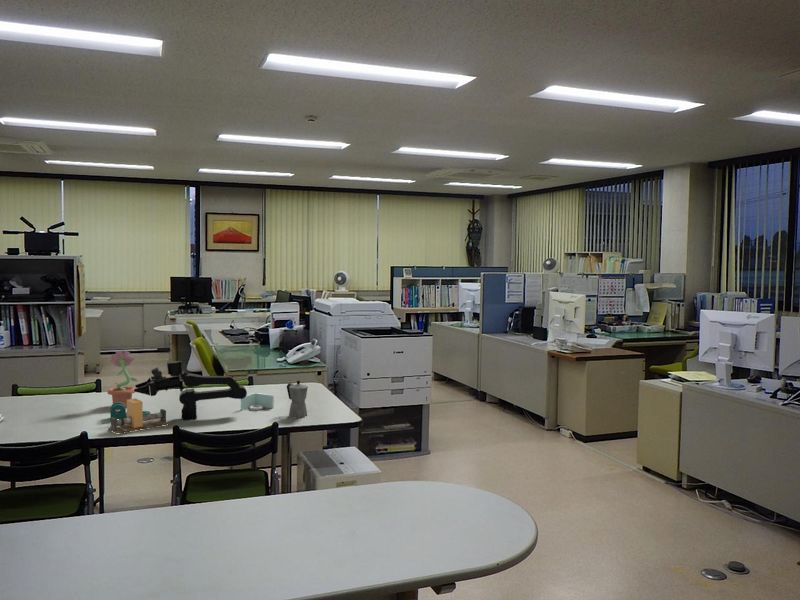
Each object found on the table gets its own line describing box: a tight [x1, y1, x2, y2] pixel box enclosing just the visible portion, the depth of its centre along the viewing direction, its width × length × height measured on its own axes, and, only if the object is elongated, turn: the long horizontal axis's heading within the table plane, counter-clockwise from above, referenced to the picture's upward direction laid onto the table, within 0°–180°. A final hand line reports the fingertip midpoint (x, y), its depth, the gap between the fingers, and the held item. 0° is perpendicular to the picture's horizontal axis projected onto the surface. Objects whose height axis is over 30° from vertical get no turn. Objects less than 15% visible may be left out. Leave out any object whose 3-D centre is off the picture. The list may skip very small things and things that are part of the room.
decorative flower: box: [107, 350, 139, 408], centre depth 328 cm, size 15×14×30 cm
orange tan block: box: [126, 398, 144, 428], centre depth 290 cm, size 4×8×12 cm, turn 45°
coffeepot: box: [286, 380, 308, 419], centre depth 319 cm, size 15×9×18 cm, turn 49°
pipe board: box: [107, 408, 170, 434], centre depth 292 cm, size 24×10×6 cm, turn 135°
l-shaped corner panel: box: [240, 392, 275, 412], centre depth 330 cm, size 12×12×8 cm
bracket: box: [109, 402, 151, 419], centre depth 308 cm, size 18×7×8 cm, turn 115°
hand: (134, 388), depth 300 cm, fingers open, 9 cm apart
